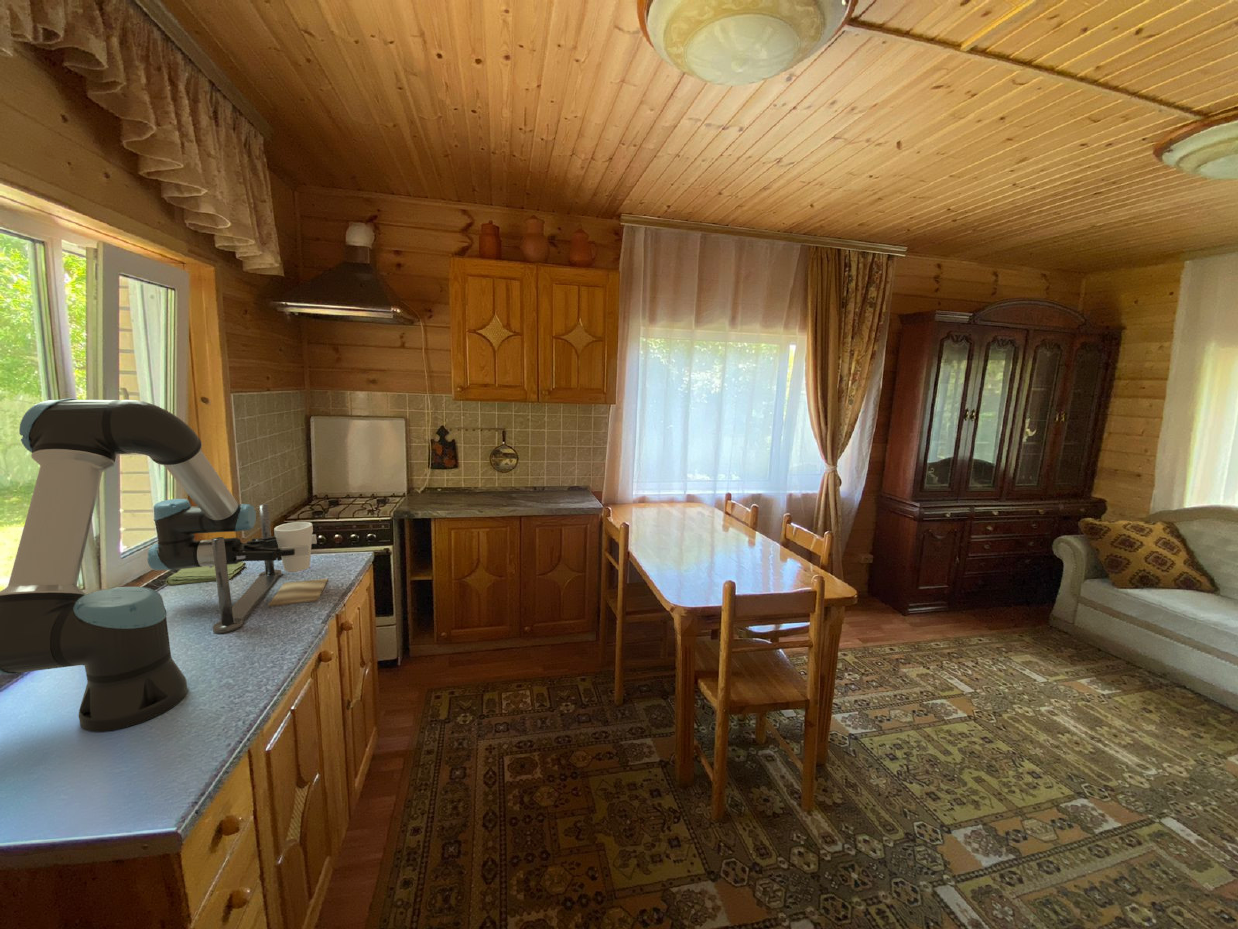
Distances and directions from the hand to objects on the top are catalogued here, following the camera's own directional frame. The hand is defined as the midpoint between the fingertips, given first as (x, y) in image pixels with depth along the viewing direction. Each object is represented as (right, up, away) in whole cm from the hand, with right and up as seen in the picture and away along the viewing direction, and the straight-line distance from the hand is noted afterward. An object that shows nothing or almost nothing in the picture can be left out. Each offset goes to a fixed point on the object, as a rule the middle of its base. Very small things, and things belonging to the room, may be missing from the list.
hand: (312, 544), depth 147 cm
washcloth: (-42, -13, +13) cm, 46 cm away
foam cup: (-4, -7, 0) cm, 8 cm away
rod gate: (-16, -16, -4) cm, 22 cm away
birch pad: (-5, -15, +2) cm, 16 cm away
